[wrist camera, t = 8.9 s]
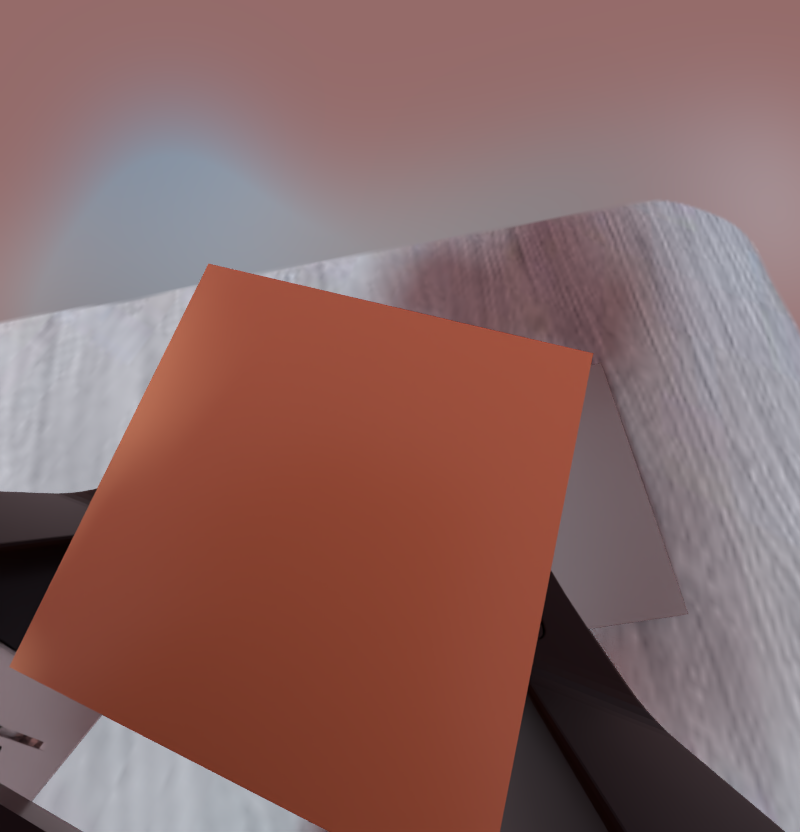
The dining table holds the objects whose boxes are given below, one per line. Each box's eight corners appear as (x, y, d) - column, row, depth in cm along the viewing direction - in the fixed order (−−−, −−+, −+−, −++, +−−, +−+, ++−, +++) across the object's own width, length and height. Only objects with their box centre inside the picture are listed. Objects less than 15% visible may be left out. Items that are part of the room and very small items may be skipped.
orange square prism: (432, 542, 15) (483, 910, 2) (351, 514, 15) (9, 666, 3) (455, 457, 16) (593, 352, 3) (377, 434, 16) (208, 263, 4)
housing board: (673, 606, 17) (735, 638, 14) (214, 675, 18) (166, 719, 15) (592, 368, 20) (626, 346, 17) (208, 440, 22) (168, 432, 18)
